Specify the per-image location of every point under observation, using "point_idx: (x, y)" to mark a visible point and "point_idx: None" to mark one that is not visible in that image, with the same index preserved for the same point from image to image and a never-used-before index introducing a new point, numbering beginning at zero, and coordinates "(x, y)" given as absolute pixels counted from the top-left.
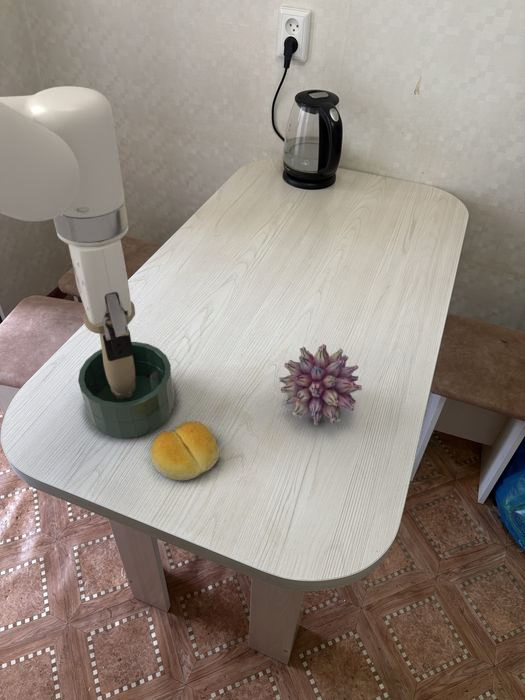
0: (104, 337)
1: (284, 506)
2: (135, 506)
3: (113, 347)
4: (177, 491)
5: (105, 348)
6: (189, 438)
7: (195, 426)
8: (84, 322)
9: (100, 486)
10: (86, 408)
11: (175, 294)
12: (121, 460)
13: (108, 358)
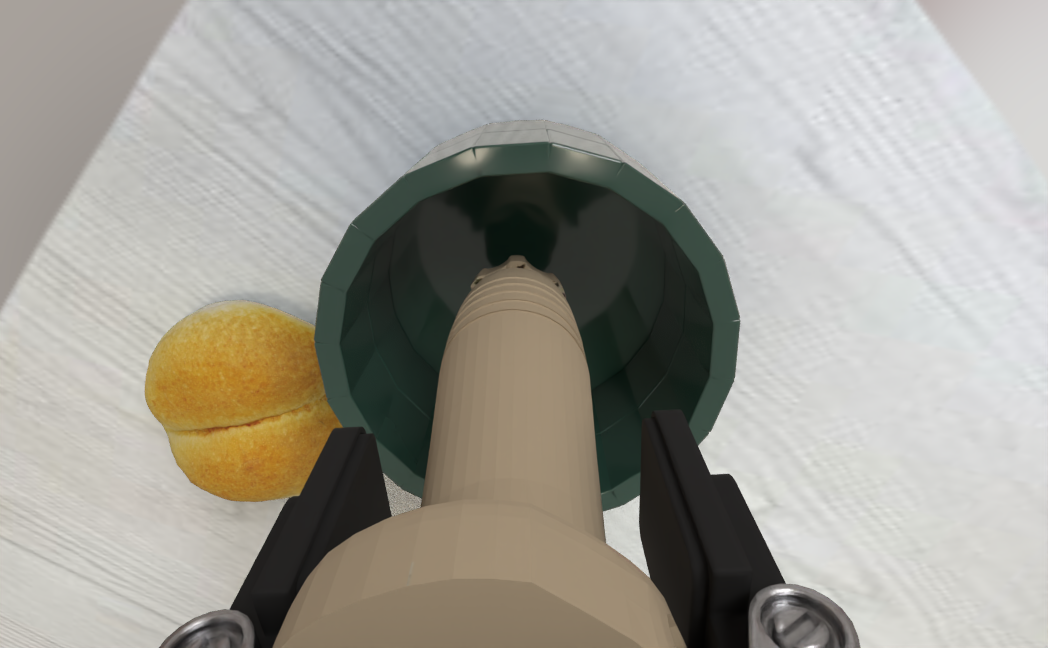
0: (263, 599)
1: (71, 552)
2: (99, 209)
3: (250, 570)
4: (141, 337)
5: (308, 496)
6: (228, 452)
7: (274, 480)
8: (434, 543)
9: (190, 111)
10: (485, 130)
11: (1011, 531)
12: (287, 200)
13: (329, 441)
